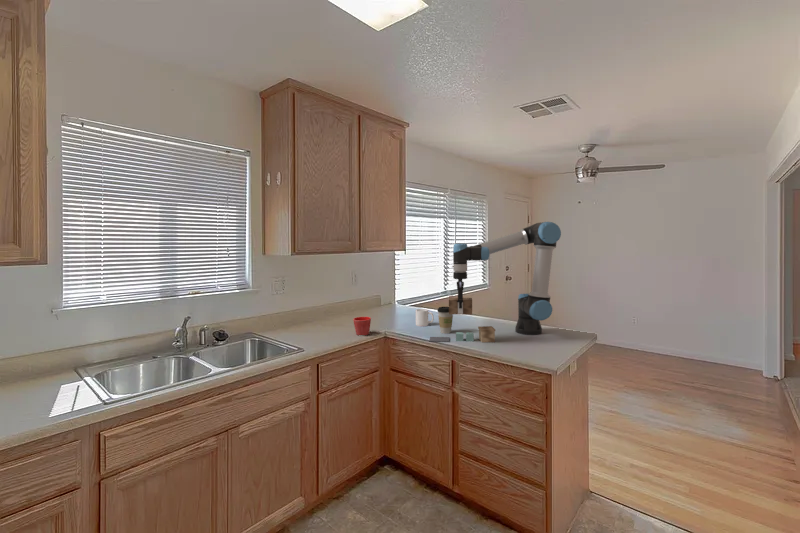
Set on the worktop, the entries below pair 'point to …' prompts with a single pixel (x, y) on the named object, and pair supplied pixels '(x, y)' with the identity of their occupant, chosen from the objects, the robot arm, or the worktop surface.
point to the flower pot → (362, 325)
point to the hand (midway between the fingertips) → (460, 312)
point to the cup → (423, 317)
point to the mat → (439, 339)
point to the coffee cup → (445, 320)
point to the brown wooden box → (466, 306)
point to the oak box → (486, 334)
